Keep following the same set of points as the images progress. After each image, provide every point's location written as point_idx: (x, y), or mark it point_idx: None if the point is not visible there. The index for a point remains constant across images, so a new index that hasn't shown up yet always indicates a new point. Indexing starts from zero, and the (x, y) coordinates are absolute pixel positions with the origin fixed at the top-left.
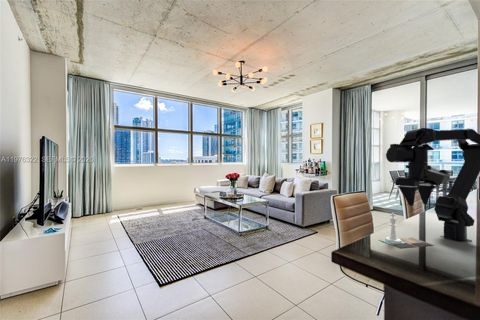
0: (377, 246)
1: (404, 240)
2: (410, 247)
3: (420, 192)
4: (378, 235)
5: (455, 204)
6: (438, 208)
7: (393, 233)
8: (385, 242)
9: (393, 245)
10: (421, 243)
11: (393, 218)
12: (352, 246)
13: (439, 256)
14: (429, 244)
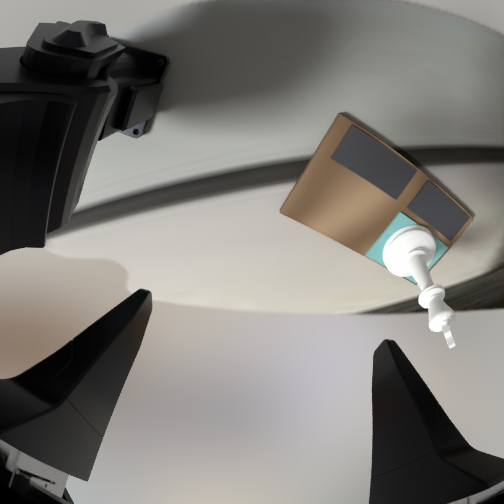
0: (459, 268)
1: (358, 224)
2: (443, 193)
3: (108, 413)
4: (325, 300)
5: (16, 91)
6: (61, 203)
7: (427, 269)
8: (433, 263)
9: (451, 238)
10: (367, 166)
11: (453, 319)
12: (481, 303)
13: (455, 104)
14: (358, 138)
